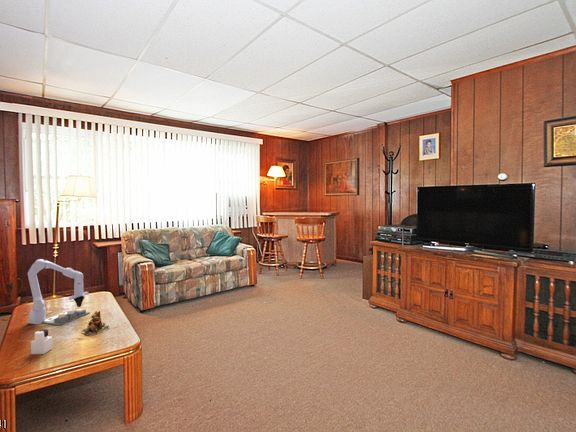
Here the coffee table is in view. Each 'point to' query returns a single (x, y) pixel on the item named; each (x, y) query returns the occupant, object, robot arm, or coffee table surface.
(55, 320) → the console
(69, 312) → the button middle
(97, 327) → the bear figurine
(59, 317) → the button
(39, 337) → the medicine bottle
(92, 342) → the coffee table surface
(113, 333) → the coffee table surface
